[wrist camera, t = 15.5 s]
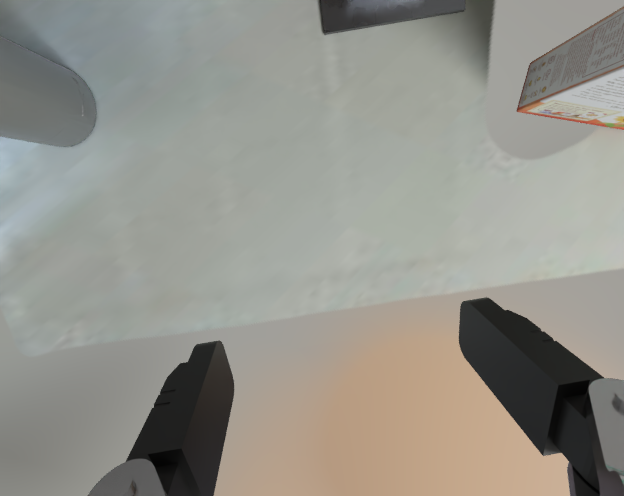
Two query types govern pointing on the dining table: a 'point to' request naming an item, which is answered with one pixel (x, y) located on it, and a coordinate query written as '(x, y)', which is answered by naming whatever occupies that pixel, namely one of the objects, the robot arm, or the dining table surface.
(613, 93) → the cracker box
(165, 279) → the dining table surface
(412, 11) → the socket
